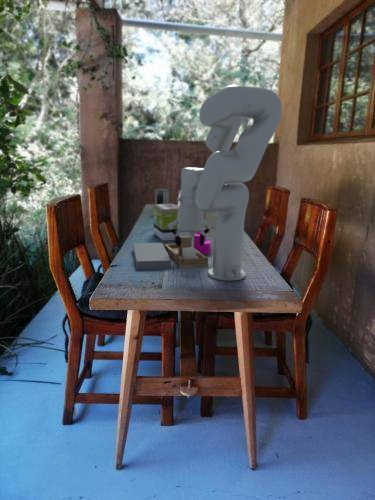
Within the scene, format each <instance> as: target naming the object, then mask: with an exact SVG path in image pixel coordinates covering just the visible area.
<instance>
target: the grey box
mask: <svg viewBox="0 0 375 500" xmlns="http://www.w3.org/2000/svg"><path fill="white" fill-rule="evenodd" d="M182 258H183V259H194V258H196V249H195V248H194V246H192V247H186V248H182Z"/></svg>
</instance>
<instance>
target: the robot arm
mask: <svg viewBox="0 0 375 500" xmlns="http://www.w3.org/2000/svg"><path fill="white" fill-rule="evenodd" d="M282 113H283V106H282V101H281V99H280V97H279V95H278V94H277V92H275V91H273V90H271V89H267V88H263V87H259V86H249V85H242V84H231V85H228V86H227V85H226V86H224V87H223V88H221V89H219V90H218V91H215V92H214V93H213V94H211V95H209V96H208V97H206V99H205V100H204V101H203V103H202V104H201V106H200V109H199V114H198V115H199V116H198V117H199V121H200V123H201V124H202V125H203V126H204V127H207V128H210V129H209V131H208V133H207V136H206V138H205V145H206V147H207V148H208V150H210V151H211V152H212V153H211V154H210V156H209V157H208V158H207V159H206V162H205V165H204V167H194V166H193V167H192V166H186V167H183V168H181V172H180V173H181V176H180V197H179V196H178V197H176V202H179V204H178V213H177V219H176V220H175V221H173V222H171V223H169V224H168V227H169V229H170V230H171V232H172V233H173V234H174V235H175V240H174V244H176V245H177V247H179V240H180V237H179V234H180V233H181V231H182V233H183V232H197V231H200V233H201V234H200V243H199V244H200V245H201V246H203V243H204V239H205V235H206V236H207V234H208V233H209V232H210V230H211V229H212V227H213V224H212V223H210V221H209V222H208V221H207V220H206V219H205V213H217V212H219V213H218V215H216V219H215V223H214V230H213V232H214V233H213V234H214V235H213V236H214V237H213V254H212V256H213V257H212V267H211V268H209V269H208V270H207V275H208V276H209V277H210V278H212V279H215V280H219V281H226V282H227V281H228V282H233V281H240V280H243V279H244V278H245V277H246V272H245V271H244V270H243V269H242V259H243V257H242V256H243V242H244V229H245V219H246V218H245V217H246V213H247V212H246V211H247V207H248V204H249V199H250V192H249V188H248V187H247V185H246V184H245V183H246V182H249V181H251V180H252V179H253V177H254V176H255V175H256V172H257V170H258V167H259V165H260V163H261V161H262V158H263V156H264V155H265V153H266V152H265V151H266V149H267V147H268V145H269V143H270V141H271V140H272V138H273V136H274V134H275V133H276V130H278V127H279V125H280V122H281V119H282ZM245 119H251V120H252V122H250V123H249V124H248V125H247V126H246V127H245V128H244V129H243V130H242V131H241V133H240V135H239V136H238V139H237V142H236V145H235V146H234V148H233V149H231V147H232V145H233V142H235V141H234V140H235V138H236V136H237V135H238V132H239V131H240V129H241V127H242V124H243V122H244V120H245ZM230 149H231V150H230ZM175 224H177V230H176V231H175V230H174V229H173V226H174V225H175ZM205 225H206V227H205ZM204 229H205V230H204ZM203 230H204V231H203Z"/></svg>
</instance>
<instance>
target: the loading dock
mask: <svg viewBox="0 0 375 500" xmlns="http://www.w3.org/2000/svg"><path fill="white" fill-rule="evenodd" d="M132 252H133V256H134V261H135V266H136V270H148V269H149V270H151V269H154V268H159V269H172V260H171V259H172V258H171V257H170V256H169V255H168V253H167V251H166V249H165V247H164V244H163V242H133V243H132Z"/></svg>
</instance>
